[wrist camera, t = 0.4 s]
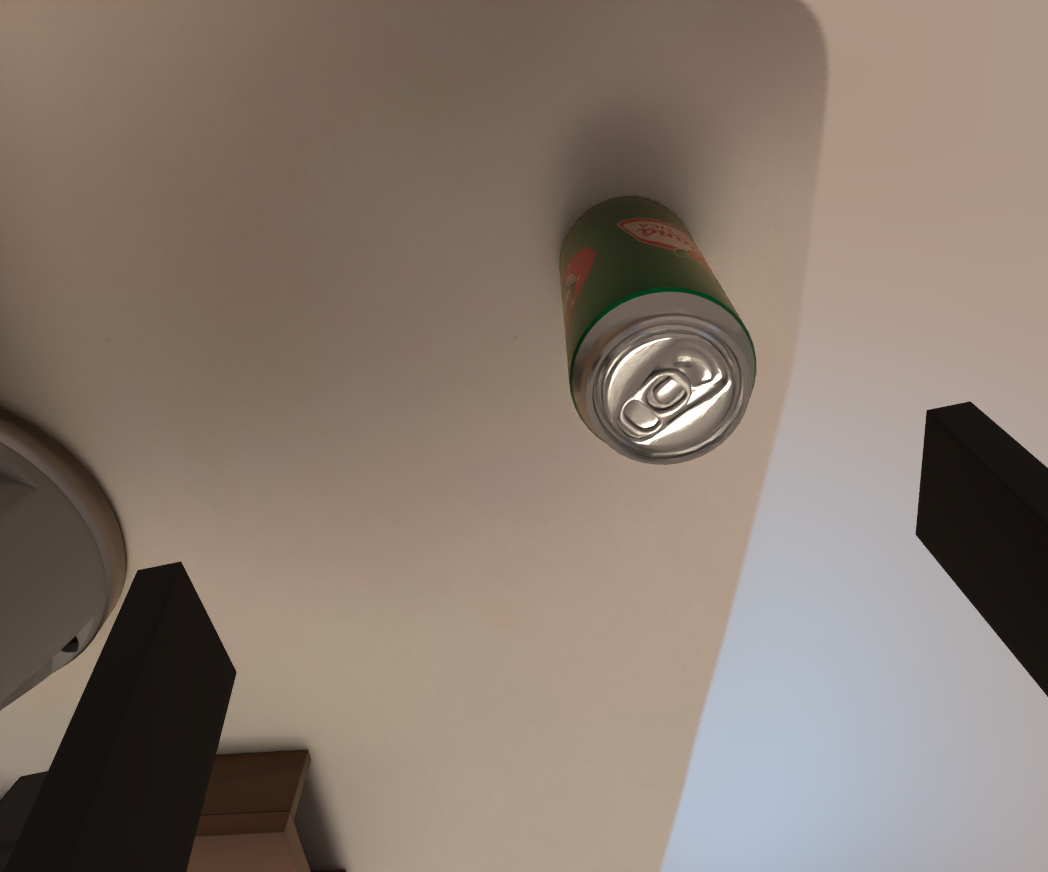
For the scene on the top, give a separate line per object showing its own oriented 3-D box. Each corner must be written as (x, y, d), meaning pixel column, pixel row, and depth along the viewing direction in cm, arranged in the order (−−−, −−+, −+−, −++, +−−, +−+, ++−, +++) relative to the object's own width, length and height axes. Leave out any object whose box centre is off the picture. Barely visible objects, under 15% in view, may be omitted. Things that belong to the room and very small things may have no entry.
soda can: (718, 253, 32) (807, 387, 22) (625, 345, 34) (665, 509, 24) (624, 163, 31) (671, 260, 20) (532, 264, 33) (530, 401, 22)
